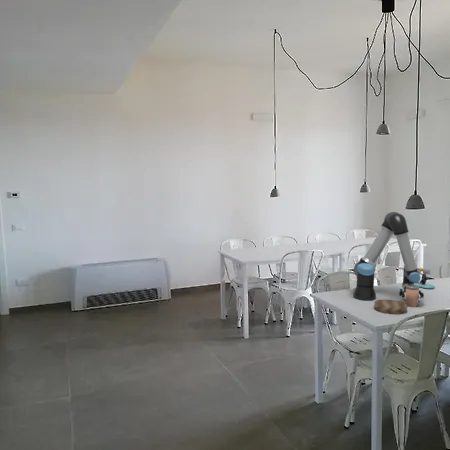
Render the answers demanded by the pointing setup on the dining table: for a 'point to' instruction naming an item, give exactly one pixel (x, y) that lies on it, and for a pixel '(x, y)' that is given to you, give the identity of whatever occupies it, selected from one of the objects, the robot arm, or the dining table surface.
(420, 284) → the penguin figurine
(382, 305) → the walnut pedestal
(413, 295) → the terracotta jar
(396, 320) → the dining table surface
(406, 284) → the robot arm
